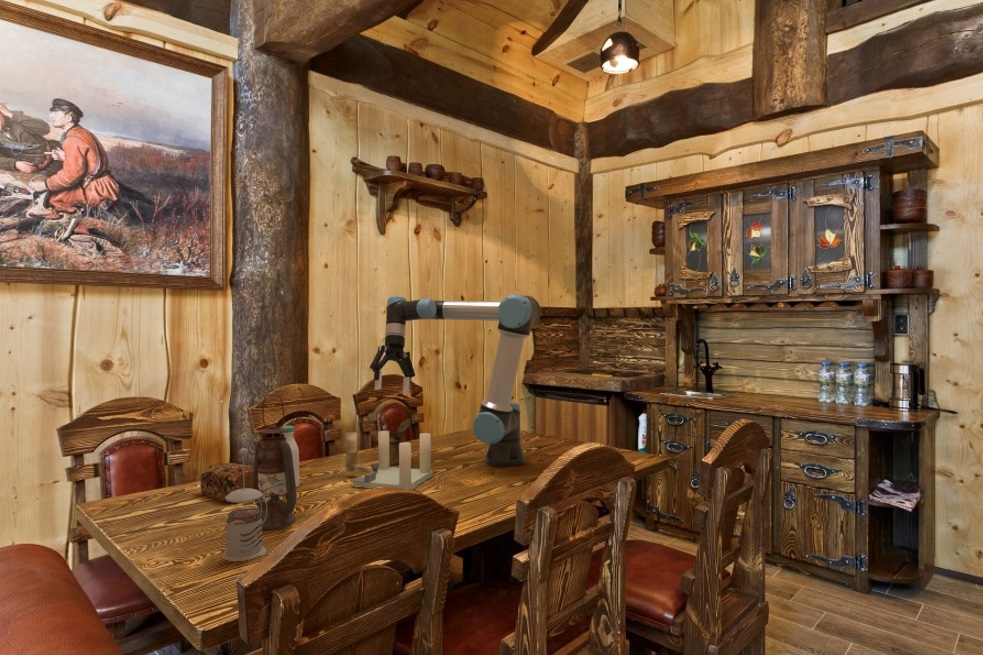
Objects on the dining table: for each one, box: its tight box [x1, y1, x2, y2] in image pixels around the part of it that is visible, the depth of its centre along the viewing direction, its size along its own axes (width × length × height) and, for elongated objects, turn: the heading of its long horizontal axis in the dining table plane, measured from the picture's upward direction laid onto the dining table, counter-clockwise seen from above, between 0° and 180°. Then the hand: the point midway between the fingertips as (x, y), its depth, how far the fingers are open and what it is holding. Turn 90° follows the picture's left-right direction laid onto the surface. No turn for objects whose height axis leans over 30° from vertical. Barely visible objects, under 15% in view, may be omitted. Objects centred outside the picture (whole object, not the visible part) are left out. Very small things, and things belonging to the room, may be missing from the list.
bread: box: [199, 462, 254, 503], centre depth 185 cm, size 19×11×10 cm, turn 54°
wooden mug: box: [389, 417, 411, 466], centre depth 226 cm, size 9×14×18 cm, turn 58°
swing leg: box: [344, 431, 379, 473], centre depth 205 cm, size 12×4×13 cm, turn 73°
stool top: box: [350, 430, 434, 491], centre depth 200 cm, size 21×21×15 cm
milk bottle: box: [274, 425, 300, 491], centre depth 194 cm, size 8×8×20 cm
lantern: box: [253, 393, 297, 530], centre depth 160 cm, size 11×16×35 cm
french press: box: [222, 447, 267, 562], centre depth 140 cm, size 10×12×25 cm
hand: (392, 392), depth 218 cm, fingers open, 13 cm apart
